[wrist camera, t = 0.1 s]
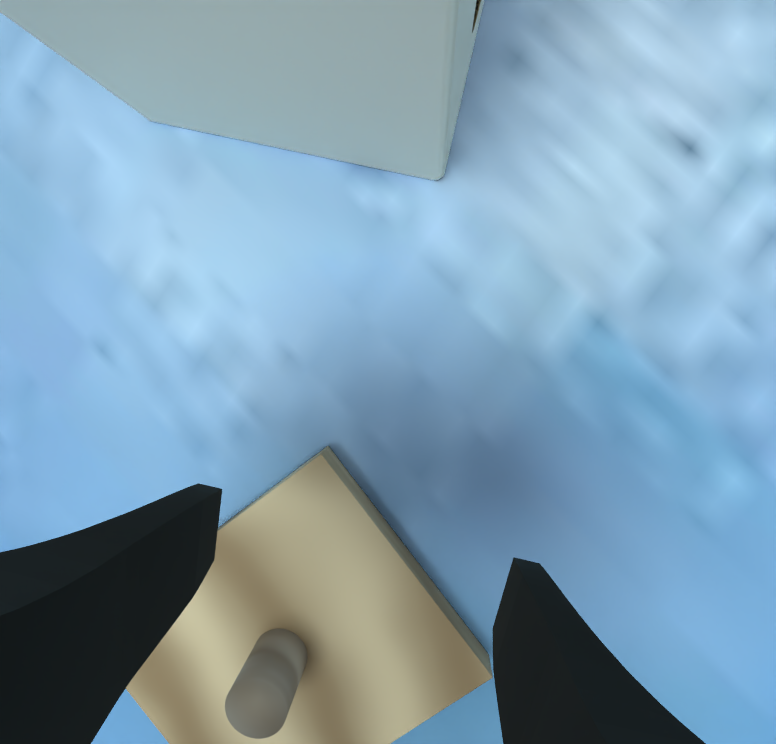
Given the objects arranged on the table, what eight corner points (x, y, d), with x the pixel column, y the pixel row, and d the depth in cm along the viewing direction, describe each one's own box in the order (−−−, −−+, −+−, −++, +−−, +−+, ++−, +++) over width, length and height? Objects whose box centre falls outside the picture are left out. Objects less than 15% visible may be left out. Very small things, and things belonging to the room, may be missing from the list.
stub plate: (254, 806, 25) (214, 918, 20) (103, 614, 25) (26, 682, 20) (488, 654, 23) (503, 738, 18) (328, 445, 23) (301, 476, 18)
